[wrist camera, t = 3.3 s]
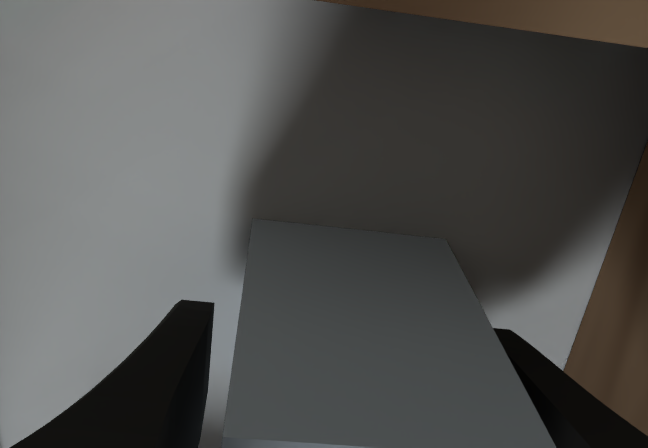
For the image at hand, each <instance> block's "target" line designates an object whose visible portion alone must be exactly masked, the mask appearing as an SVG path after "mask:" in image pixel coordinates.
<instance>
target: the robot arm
mask: <svg viewBox="0 0 648 448" xmlns="http://www.w3.org/2000/svg"><path fill="white" fill-rule="evenodd" d="M213 315H214V303H211V302H200V301H189V300H181V301H179V302H178V303H177V304H175V305H174V307H173V308H172V309H171V310H170V312H169V313H168V314H167V315H166V317H165V318H164V319H163V320H162V321H161V322H160V324H159V325H158V326H157V327H156V328H155V329H154V330H153V331H152V332H151V333H150V335H149V336H148V337H147V338H146V339H145V340H144V341H143V342H142V343H141V344H140V345H139V346H138V347H137V348H136V349H135V350H134V351H133V352H132V353H131V354H130V355H129V356H128V357H127V358H126V359H125V360H124V361H123V362H122V363H121V364H120V365H119V366H118V367H117V368H115V369H114V370H113V371H112V372H111V373H110V374H109V375H107V376H106V377H105V378H104V379H103V380H102V381H101V382H100V383H98V384H97V385H96V386H95V387H94V388H93V389H92V390H90V391H89V392H88V393H87V394H86V395H84V396H83V397H82V398H81V399H79V400H78V401H77V402H76V403H74V404H73V405H72V406H70V407H69V408H68V409H67V410H65V411H64V412H62V413H61V414H60V415H58V416H57V417H56V418H54V419H53V420H52V421H50V422H49V423H47V424H46V425H45V426H43V427H42V428H40V429H39V430H37V431H35V432H34V433H32V434H31V435H29V436H28V437H26V438H25V439H23V440H21V441H20V442H18V443H16V444H15V445H13V446H12V447H10V448H198V444H199V441H200V436H201V430H202V424H203V418H204V411H205V405H206V399H207V392H208V381H209V368H210V355H211V342H212V328H213ZM493 329H494V331H495V333H496V335H497V337H498V339H499V341H500V343H501V344H502V346H503V348H504V350H505V352H506V354H507V356H508V358H509V359H510V361H511V363H512V365H513V367H514V369H515V371H516V373H517V375H518V376H519V378H520V380H521V382H522V384H523V386H524V388H525V390H526V391H527V393H528V395H529V397H530V399H531V401H532V403H533V405H534V406H535V408H536V410H537V412H538V414H539V416H540V418H541V420H542V422H543V423H544V425H545V427H546V429H547V431H548V433H549V435H550V437H551V438H552V440H553V442H554V444H555V446H556V448H648V436H647V435H645V434H644V433H643V432H641V431H640V430H639V429H637V428H636V427H634V426H633V425H632V424H630V423H629V422H628V421H626V420H625V419H623V418H622V417H621V416H619V415H618V414H617V413H615V412H614V411H613V410H611V409H610V408H609V407H607V406H606V405H605V404H603V403H602V402H601V401H600V400H598V399H597V398H596V397H594V396H593V395H592V394H591V393H589V392H588V391H587V390H586V389H584V388H583V387H582V386H581V385H579V384H578V383H577V382H576V381H574V380H573V379H572V378H571V377H569V376H568V375H567V374H566V373H565V372H563V371H562V370H561V369H560V368H558V367H557V366H556V365H555V364H554V363H552V362H551V361H550V360H549V359H547V358H546V357H545V356H544V355H543V354H541V353H540V352H539V351H538V350H536V349H535V348H534V347H533V346H531V345H530V344H529V343H528V342H526V341H525V340H524V339H522V338H521V337H520V336H518V335H517V334H516V333H514V332H513V331H511V330H508V329H497V328H493Z"/></svg>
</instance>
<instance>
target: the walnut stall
mask: <svg viewBox="0 0 648 448" xmlns="http://www.w3.org/2000/svg"><path fill="white" fill-rule="evenodd" d="M316 1H323V2H330V3H337V4H344V5H351V6H358V7H365V8H372V9H379V10H386V11H393V12H400V13H407V14H414V15H421V16H428V17H435V18H442V19H449V20H456V21H463V22H470V23H477V24H484V25H491V26H498V27H505V28H512V29H519V30H526V31H533V32H540V33H547V34H553V35H560V36H567V37H574V38H581V39H588V40H595V41H602V42H609V43H616V44H623V45H630V46H637V47H644V48H648V0H316ZM563 372H565V373H566V374H567V375H568V376H569V377H571V378H572V379H573V380H574V381H576V382H577V383H578V384H579V385H581V386H582V387H583V388H584V389H586V390H587V391H588V392H589V393H591V394H592V395H593V396H594V397H596V398H597V399H598V400H600V401H601V402H602V403H603V404H605V405H606V406H607V407H609V408H610V409H611V410H613V411H614V412H615V413H617V414H618V415H619V416H621V417H622V418H623V419H625V420H626V421H628V422H629V423H630V424H632V425H633V426H634V427H636V428H637V429H639V430H640V431H641V432H643V433H644V434H645V435H647V436H648V142H647V145H646V147H645V150H644V153H643V156H642V158H641V161H640V164H639V167H638V169H637V172H636V175H635V177H634V180H633V183H632V186H631V188H630V191H629V194H628V197H627V199H626V202H625V205H624V207H623V210H622V213H621V216H620V218H619V221H618V224H617V227H616V229H615V232H614V235H613V237H612V240H611V243H610V246H609V248H608V251H607V254H606V257H605V259H604V262H603V265H602V267H601V270H600V273H599V276H598V278H597V281H596V284H595V287H594V289H593V292H592V295H591V297H590V300H589V303H588V306H587V308H586V311H585V314H584V317H583V319H582V322H581V325H580V327H579V330H578V333H577V336H576V338H575V341H574V344H573V347H572V349H571V352H570V355H569V358H568V360H567V363H566V366H565V368H564V371H563Z"/></svg>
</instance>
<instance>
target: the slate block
mask: <svg viewBox="0 0 648 448" xmlns="http://www.w3.org/2000/svg"><path fill="white" fill-rule="evenodd" d="M221 448H556V446H555V444H554V442H553V440H552V438H551V437H550V435H549V433H548V431H547V429H546V427H545V425H544V423H543V422H542V420H541V418H540V416H539V414H538V412H537V410H536V408H535V406H534V405H533V403H532V401H531V399H530V397H529V395H528V393H527V391H526V390H525V388H524V386H523V384H522V382H521V380H520V378H519V376H518V375H517V373H516V371H515V369H514V367H513V365H512V363H511V361H510V359H509V358H508V356H507V354H506V352H505V350H504V348H503V346H502V344H501V343H500V341H499V339H498V337H497V335H496V333H495V331H494V329H493V328H492V326H491V324H490V322H489V320H488V318H487V316H486V314H485V312H484V311H483V309H482V307H481V305H480V303H479V301H478V299H477V297H476V296H475V294H474V292H473V290H472V288H471V286H470V284H469V282H468V281H467V279H466V277H465V275H464V273H463V271H462V269H461V267H460V265H459V264H458V262H457V260H456V258H455V256H454V254H453V252H452V250H451V249H450V247H449V245H448V243H447V241H446V239H440V238H430V237H421V236H412V235H402V234H393V233H384V232H374V231H365V230H356V229H346V228H337V227H328V226H318V225H309V224H300V223H290V222H281V221H272V220H262V219H252V227H251V234H250V241H249V248H248V256H247V263H246V270H245V277H244V284H243V292H242V299H241V306H240V313H239V321H238V328H237V335H236V342H235V350H234V357H233V364H232V371H231V379H230V386H229V393H228V400H227V407H226V415H225V422H224V429H223V436H222V447H221Z"/></svg>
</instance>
